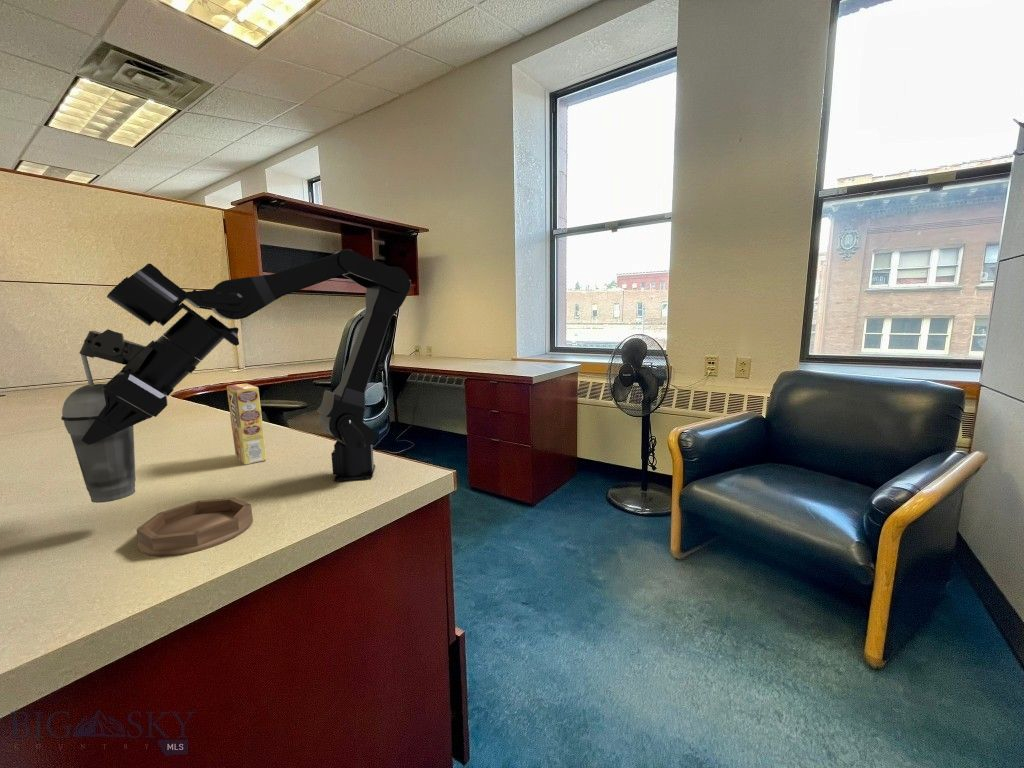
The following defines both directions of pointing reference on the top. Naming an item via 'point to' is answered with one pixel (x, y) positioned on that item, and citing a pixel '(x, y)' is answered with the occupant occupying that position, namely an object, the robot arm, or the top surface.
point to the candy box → (246, 423)
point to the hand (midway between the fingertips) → (89, 437)
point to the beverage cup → (99, 445)
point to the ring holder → (194, 526)
